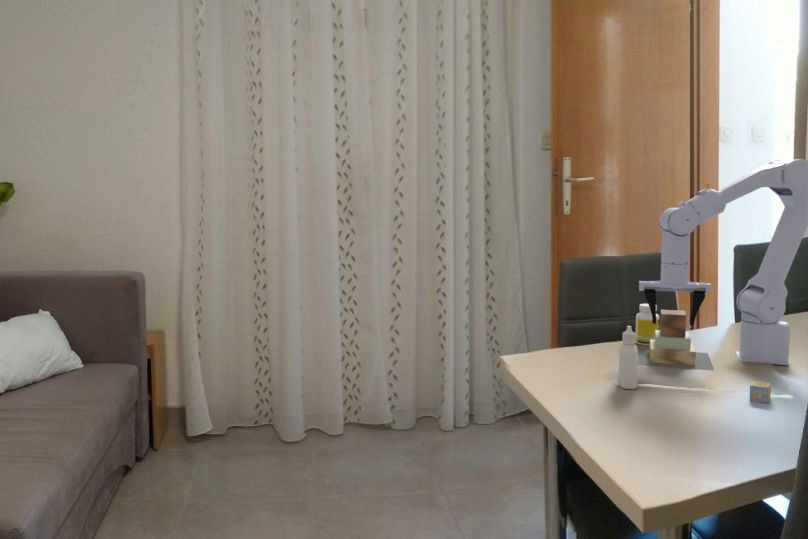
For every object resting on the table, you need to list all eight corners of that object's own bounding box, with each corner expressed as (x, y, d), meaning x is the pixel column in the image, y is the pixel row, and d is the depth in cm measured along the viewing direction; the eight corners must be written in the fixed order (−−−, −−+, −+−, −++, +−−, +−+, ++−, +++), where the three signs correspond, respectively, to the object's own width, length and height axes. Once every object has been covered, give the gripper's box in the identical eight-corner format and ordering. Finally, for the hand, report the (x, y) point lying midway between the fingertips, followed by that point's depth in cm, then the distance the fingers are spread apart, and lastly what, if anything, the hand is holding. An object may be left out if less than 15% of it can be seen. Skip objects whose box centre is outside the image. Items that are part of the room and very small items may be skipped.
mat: (707, 355, 151) (707, 353, 151) (714, 372, 138) (714, 370, 138) (633, 350, 156) (633, 348, 156) (633, 366, 143) (633, 364, 143)
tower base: (691, 354, 150) (692, 341, 149) (695, 365, 141) (695, 351, 141) (649, 352, 153) (650, 339, 152) (650, 362, 144) (650, 349, 144)
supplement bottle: (661, 346, 159) (663, 306, 158) (639, 347, 159) (640, 307, 158) (653, 341, 164) (655, 302, 163) (632, 341, 164) (633, 303, 163)
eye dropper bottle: (643, 384, 131) (645, 325, 129) (633, 391, 127) (635, 330, 125) (622, 380, 134) (623, 322, 132) (611, 387, 130) (612, 327, 128)
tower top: (688, 342, 149) (688, 331, 148) (690, 350, 142) (690, 339, 142) (654, 340, 151) (655, 330, 151) (655, 348, 144) (656, 337, 144)
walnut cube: (683, 332, 148) (684, 310, 147) (685, 337, 143) (686, 315, 142) (659, 331, 149) (660, 309, 149) (660, 336, 145) (661, 314, 144)
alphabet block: (749, 401, 121) (749, 384, 120) (751, 396, 123) (752, 380, 123) (767, 404, 119) (768, 387, 118) (770, 399, 121) (771, 383, 121)
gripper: (639, 264, 143) (638, 325, 144) (713, 266, 138) (710, 329, 140) (639, 260, 149) (638, 319, 151) (710, 261, 144) (707, 322, 146)
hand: (672, 323), depth 146 cm, fingers open, 7 cm apart
